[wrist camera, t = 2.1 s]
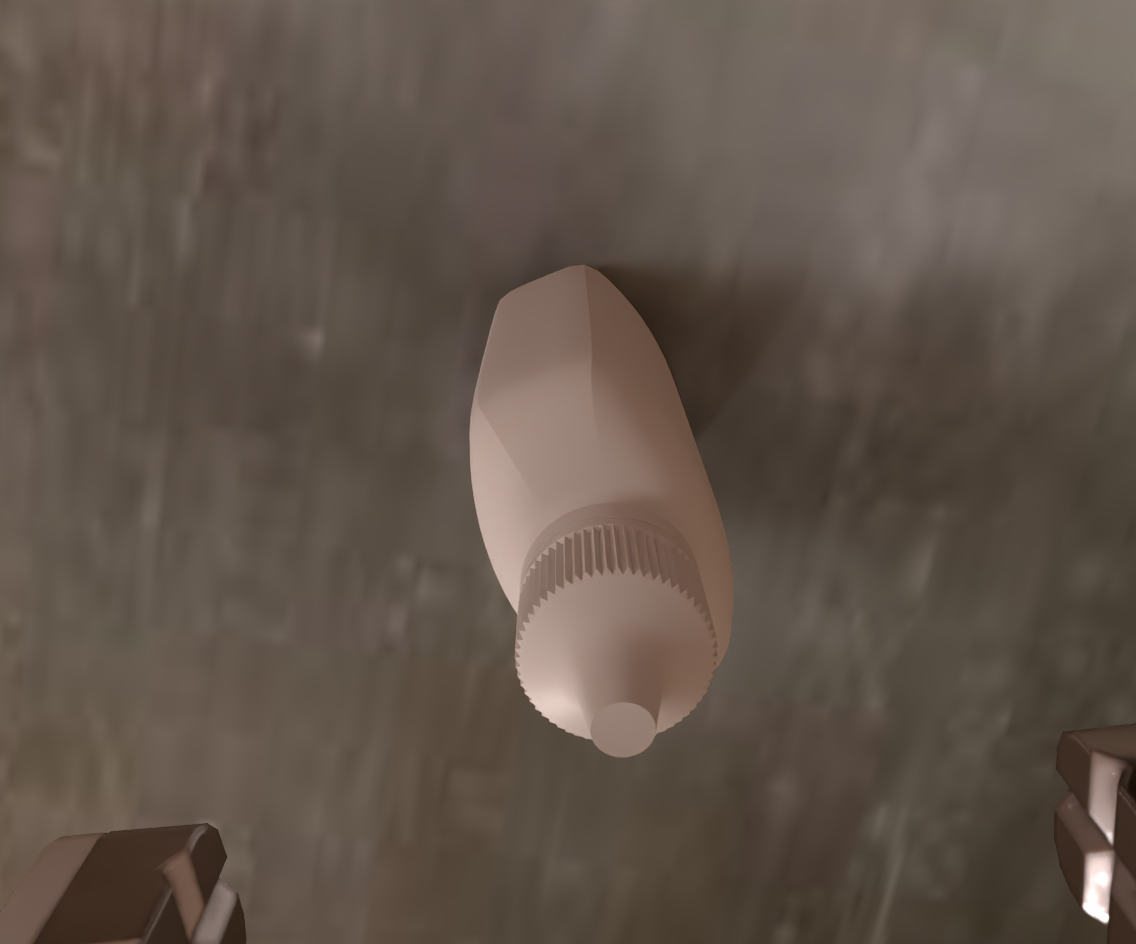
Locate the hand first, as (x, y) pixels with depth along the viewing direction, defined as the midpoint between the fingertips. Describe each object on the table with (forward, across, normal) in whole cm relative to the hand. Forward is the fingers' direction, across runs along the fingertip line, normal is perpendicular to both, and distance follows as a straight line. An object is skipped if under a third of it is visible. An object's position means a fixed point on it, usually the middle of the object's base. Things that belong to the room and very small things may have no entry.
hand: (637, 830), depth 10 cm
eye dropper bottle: (+13, 0, -1) cm, 13 cm away
